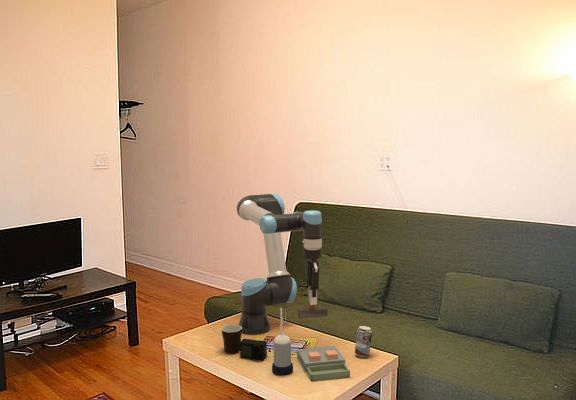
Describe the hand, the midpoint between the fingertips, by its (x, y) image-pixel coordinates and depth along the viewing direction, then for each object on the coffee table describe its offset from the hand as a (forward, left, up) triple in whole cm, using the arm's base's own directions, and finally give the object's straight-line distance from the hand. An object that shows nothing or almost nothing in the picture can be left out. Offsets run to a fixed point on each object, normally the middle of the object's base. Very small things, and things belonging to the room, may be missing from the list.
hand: (312, 303), depth 214 cm
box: (+23, 0, -21) cm, 31 cm away
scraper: (0, 0, -6) cm, 6 cm away
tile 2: (+16, +4, -17) cm, 24 cm away
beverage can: (+9, +19, -21) cm, 30 cm away
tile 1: (+16, -3, -17) cm, 24 cm away
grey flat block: (+12, 0, -21) cm, 24 cm away
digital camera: (+2, -26, -21) cm, 33 cm away
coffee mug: (-9, -33, -21) cm, 40 cm away
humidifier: (+16, -16, -21) cm, 31 cm away
